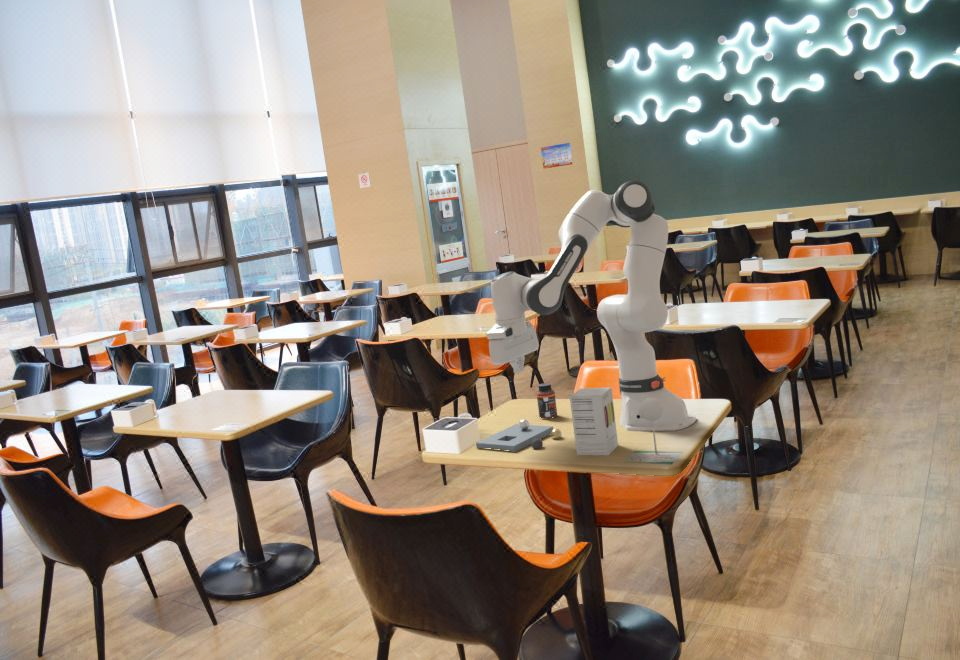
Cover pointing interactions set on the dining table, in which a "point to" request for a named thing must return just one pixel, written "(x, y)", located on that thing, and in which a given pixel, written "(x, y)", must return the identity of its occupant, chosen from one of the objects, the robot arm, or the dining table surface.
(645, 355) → the robot arm
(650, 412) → the lollipop
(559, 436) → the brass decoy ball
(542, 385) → the supplement bottle
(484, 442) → the hole plate
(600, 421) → the supplement box
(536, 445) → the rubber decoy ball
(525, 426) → the steel ball
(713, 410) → the dining table surface
